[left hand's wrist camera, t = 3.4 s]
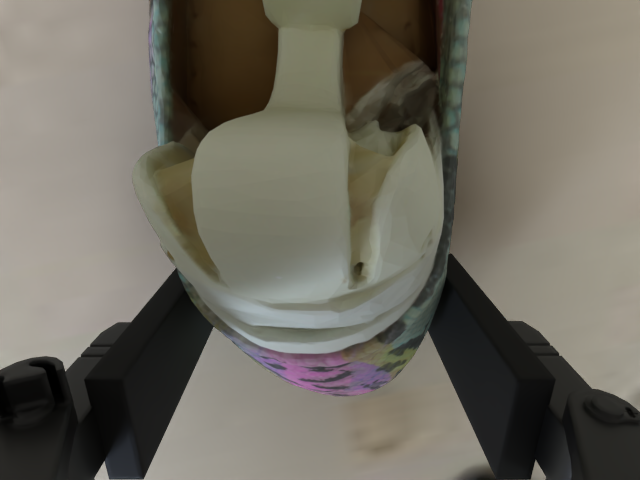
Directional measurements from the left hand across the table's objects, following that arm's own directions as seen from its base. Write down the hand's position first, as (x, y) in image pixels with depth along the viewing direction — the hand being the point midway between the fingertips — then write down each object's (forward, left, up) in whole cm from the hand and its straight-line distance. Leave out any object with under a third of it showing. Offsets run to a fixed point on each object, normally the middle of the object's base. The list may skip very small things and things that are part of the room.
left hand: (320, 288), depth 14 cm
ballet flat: (+8, 0, -1) cm, 8 cm away
